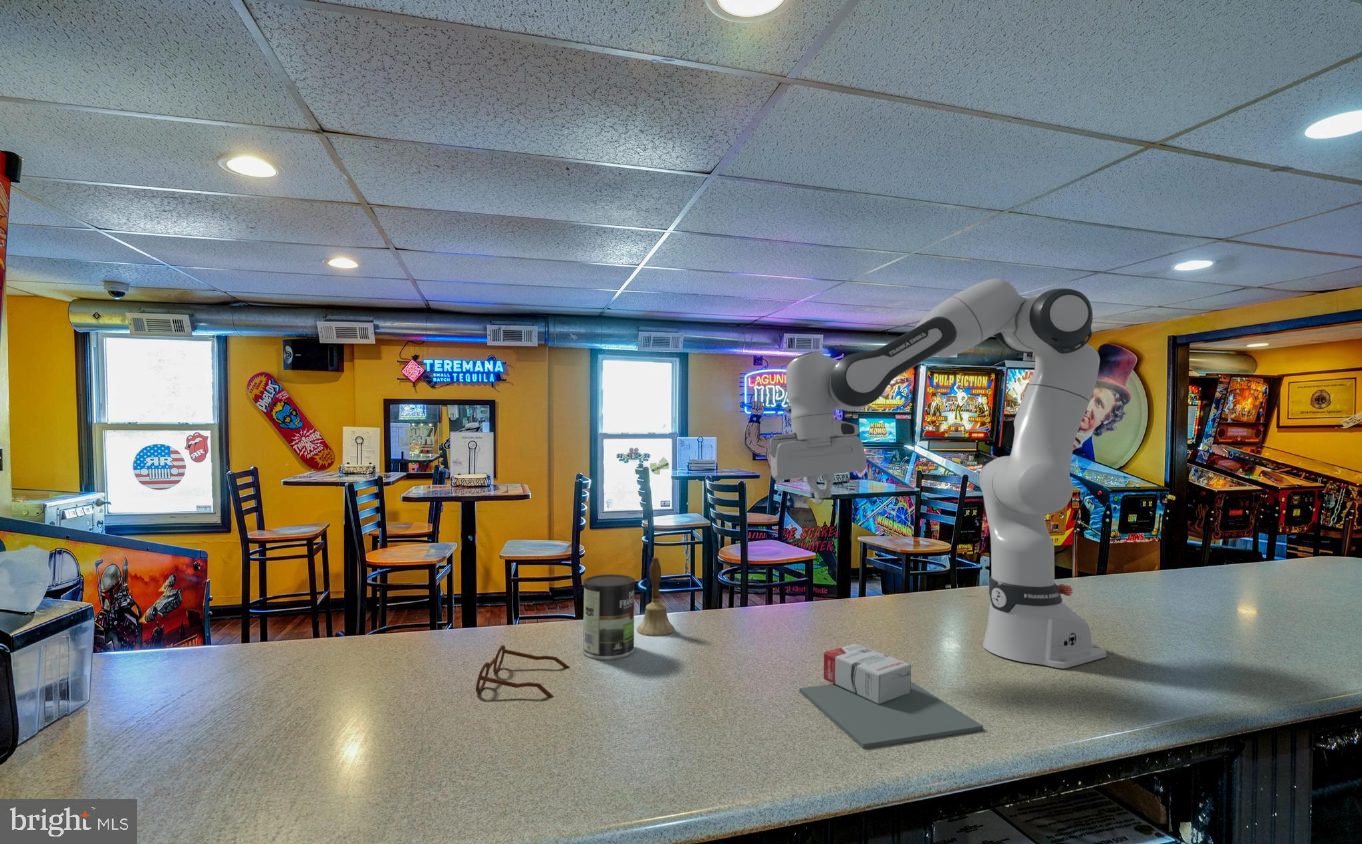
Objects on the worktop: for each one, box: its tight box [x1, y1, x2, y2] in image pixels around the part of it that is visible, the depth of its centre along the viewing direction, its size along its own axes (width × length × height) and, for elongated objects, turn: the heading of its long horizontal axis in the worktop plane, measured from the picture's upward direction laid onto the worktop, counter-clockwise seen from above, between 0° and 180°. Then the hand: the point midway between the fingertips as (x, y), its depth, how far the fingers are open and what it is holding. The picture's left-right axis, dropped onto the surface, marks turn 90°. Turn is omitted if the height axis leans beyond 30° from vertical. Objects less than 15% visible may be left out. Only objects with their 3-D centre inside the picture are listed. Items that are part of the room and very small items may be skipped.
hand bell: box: [636, 557, 675, 637], centre depth 133 cm, size 8×8×16 cm
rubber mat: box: [799, 681, 984, 749], centre depth 94 cm, size 20×19×1 cm
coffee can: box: [582, 573, 636, 661], centre depth 120 cm, size 10×10×14 cm
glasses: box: [475, 644, 570, 698], centre depth 105 cm, size 13×13×5 cm
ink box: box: [823, 643, 912, 704], centre depth 101 cm, size 8×5×12 cm
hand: (823, 498), depth 122 cm, fingers closed
